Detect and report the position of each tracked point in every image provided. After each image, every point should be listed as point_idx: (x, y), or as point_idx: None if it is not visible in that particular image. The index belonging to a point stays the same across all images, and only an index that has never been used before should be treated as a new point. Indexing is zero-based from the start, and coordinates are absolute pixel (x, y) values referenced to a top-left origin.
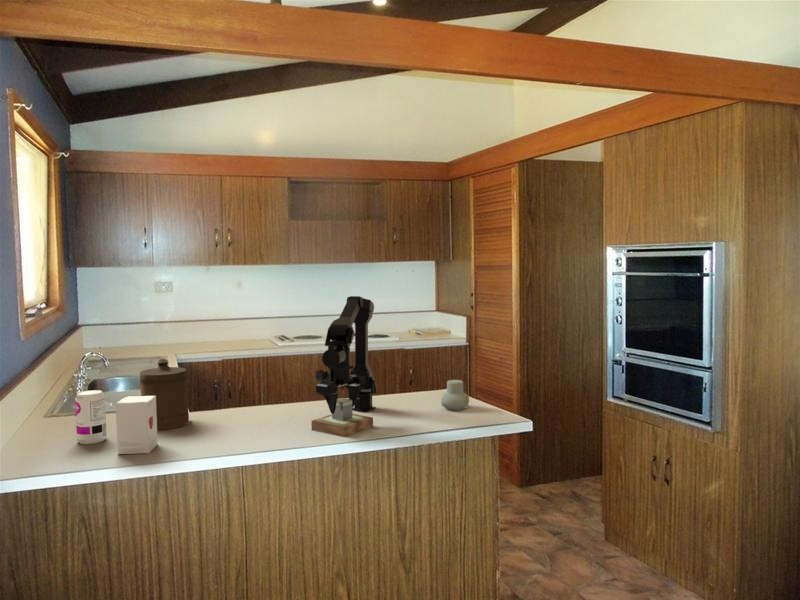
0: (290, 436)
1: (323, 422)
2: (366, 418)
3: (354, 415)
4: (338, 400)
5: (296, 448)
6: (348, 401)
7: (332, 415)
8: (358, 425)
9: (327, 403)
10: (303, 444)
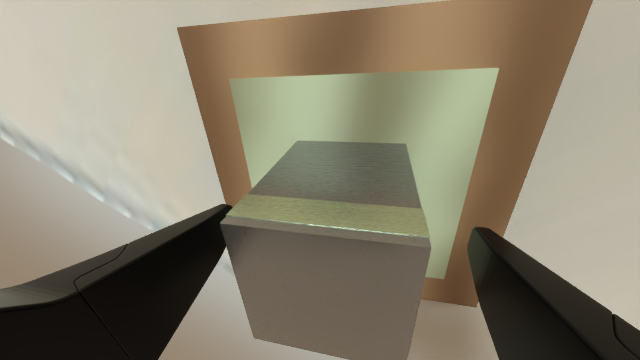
0: (85, 34)
1: (217, 139)
2: (435, 289)
3: (478, 202)
4: (277, 283)
5: (77, 181)
6: (341, 348)
7: (290, 152)
8: None
9: (127, 245)
10: (107, 172)
